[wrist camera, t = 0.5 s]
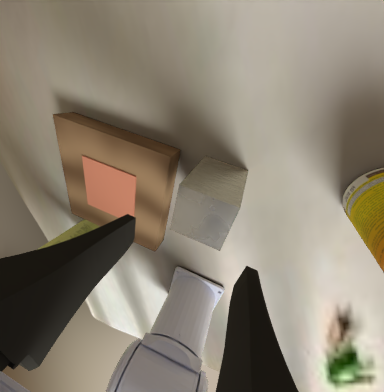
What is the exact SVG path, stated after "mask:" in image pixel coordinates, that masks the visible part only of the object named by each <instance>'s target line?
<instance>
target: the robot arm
mask: <svg viewBox="0 0 384 392" xmlns="http://www.w3.org/2000/svg"><path fill="white" fill-rule="evenodd" d="M135 224H136V217H133V216H131V215H129V214H126V215H124V216H122V217H120V218H118V219H116V220H114V221H111V222H109V223H107V224H105V225H103V226H101V227H98V228H96V229H94V230H92V231H89V232H87V233H84V234H82V235H80V236H77V237H75V238H72V239H69V240H67V241H64V242H61V243H58V244H55V245H52V246H48V247H45V248H41V249H38V250H34V251H30V252H27V253H23V254H19V255H15V256H10V257H5V258H1V259H0V392H30V391H29V390H27V389H26V388H24V387H23V386H21V385H20V384H19V383H17V382H16V381H14V380H13V379H11V378H10V377H8V376H7V375H5V374H4V373H3V372H2V371H3V370H4V369H5V368H6V366H7V365H8V366H9V367H11V368H12V369H15V368H16V367H17V366H18V365H21V366H22V367H24V368H25V369H27V370H28V371H30V370H33V369H35V368H37V367H39V366H40V364H41V363H42V361H43V360H44V358H45V357H46V355H47V353H48V352H49V351H50V349H51V347H52V346H53V344H54V343H55V341H56V340H57V338H58V337H59V335H60V334H61V332H62V331H63V330H64V328H65V327H66V325H67V324H68V322H69V321H70V319H71V318H72V317H73V315H74V314H75V313H76V311H77V310H78V309H79V307H80V306H81V304H82V303H83V302H84V300H85V299H86V298H87V296H88V295H89V294H90V292H91V291H92V290H93V289H94V287H95V286H96V285H97V284H98V283H99V281H100V280H101V279H102V278H103V277H104V276H105V275H106V274H107V273H108V271H109V270H110V269H111V268H112V267H113V266H114V265H115V264H116V263H117V262H118V260H119V259H120V258H121V257H122V256H123V255H124V254H125V252H126V251H127V250H128V248H129V247H130V245H131V244H132V243H133V241H134V239H135ZM223 293H224V288H223V287H222V286H220V285H217V284H215V283H213V282H211V281H209V280H207V279H205V278H202V277H200V276H198V275H196V274H194V273H192V272H190V271H187V270H185V269H183V268H181V267H176V269H175V272H174V275H173V279H172V282H171V286H170V290H169V293H168V296H167V298H166V300H165V302H164V304H163V306H162V308H161V310H160V312H159V314H158V317H157V319H156V321H155V323H154V325H153V327H152V329H151V331H150V333H146V334H145V336H144V338H143V340H141V339H137V340H136V341H134V342H132V343H131V344H130V345H129V346H128V347H127V349H126V350H125V352H124V353H123V355H122V357H121V358H120V360H119V362H118V364H117V366H116V368H115V370H114V372H113V374H112V376H111V379H110V381H109V384H108V387H107V390H106V392H207V390H208V380H207V377H206V373H205V372H204V371H202V370H201V371H200V369H201V365H202V360H201V357H202V353H203V349H204V345H205V341H206V337H207V333H208V329H209V325H210V320H211V316H212V312H213V309H214V308H215V306H216V304H217V303H218V301H219V299H220V298H221V296H222V294H223ZM199 373H200V374H199ZM216 392H298V390H297V388H296V385H295V383H294V381H293V378H292V376H291V374H290V371H289V369H288V367H287V364H286V362H285V359H284V357H283V354H282V352H281V349H280V346H279V344H278V341H277V338H276V335H275V332H274V329H273V327H272V323H271V320H270V317H269V314H268V310H267V307H266V303H265V300H264V296H263V292H262V288H261V284H260V279H259V275H258V271H257V270H255V269H252V268H250V267H248V266H246V268H245V269H244V271H243V272H242V274H241V275H240V277H239V278H238V280H237V282H236V283H235V285H234V288H233V292H232V296H231V301H230V306H229V314H228V323H227V331H226V339H225V348H224V354H223V360H222V365H221V369H220V374H219V379H218V384H217V388H216Z"/></svg>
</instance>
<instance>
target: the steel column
mask: <svg viewBox="0 0 384 392" xmlns="http://www.w3.org/2000/svg"><path fill="white" fill-rule="evenodd" d="M247 175H248V170H245V169H242V168H239V167H236V166H233V165H230V164H228V163H225V162H222V161H219V160H216V159H213V158H210V157H207V156H205V157H204V158H203V159H202V161H201V162H200V163H199V164H198V165H197V166H196V167H195V168H194V169H193V170H192V171H191V173H190V174H189V175H188V176H187V177H186V178H185V179H184V180H183V181H182V182H181V183H180V185H179V189H178V193H177V198H176V203H175V208H174V212H173V217H172V222H171V226H170V230H173V231H175V232H177V233H180V234H182V235H184V236H187V237H189V238H191V239H194V240H196V241H198V242H201V243H203V244H205V245H207V246H210V247H212V248H214V249H217V250H219V251H220V250H221V248H222V246H223V243H224V241H225V239H226V237H227V235H228V233H229V231H230V229H231V226H232V224H233V222H234V220H235V218H236V216H237V214H238V211H239V209H240V206H241V202H242V197H243V193H244V188H245V184H246V179H247Z"/></svg>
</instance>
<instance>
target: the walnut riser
mask: <svg viewBox="0 0 384 392" xmlns="http://www.w3.org/2000/svg"><path fill="white" fill-rule="evenodd" d="M53 118H54V123H55V129H56V134H57V139H58V144H59V149H60V154H61V160H62V165H63V170H64V175H65V180H66V185H67V191H68V196H69V201H70V206H71V211H72V213H73V214H75V215H77V216H79V217H81V218H83V219H86V220H88V221H90V222H92V223H94V224H96V225H98V226H103V225H105V224H107V223H109V222H111V221H114V220H116V219H118V218H120V217H122V216H124V215H126V214H129V215H131V216H133V217H136V224H135V239H134V241H133V242H135V243H137V244H140V245H142V246H144V247H146V248H148V249H150V250H153V251H156V250H157V248H158V247H159V245H160V244H161V242H162V241H163V239H164V234H165V229H166V224H167V219H168V213H169V208H170V203H171V198H172V193H173V187H174V182H175V177H176V172H177V167H178V161H179V156H180V151H181V150H180V149H177V148H174V147H171V146H168V145H165V144H163V143H160V142H157V141H154V140H151V139H148V138H145V137H143V136H140V135H137V134H134V133H131V132H128V131H125V130H123V129H120V128H117V127H114V126H111V125H108V124H105V123H103V122H100V121H97V120H94V119H91V118H88V117H85V116H83V115H80V114H77V113H74V112H70V113H61V114H53Z"/></svg>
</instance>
